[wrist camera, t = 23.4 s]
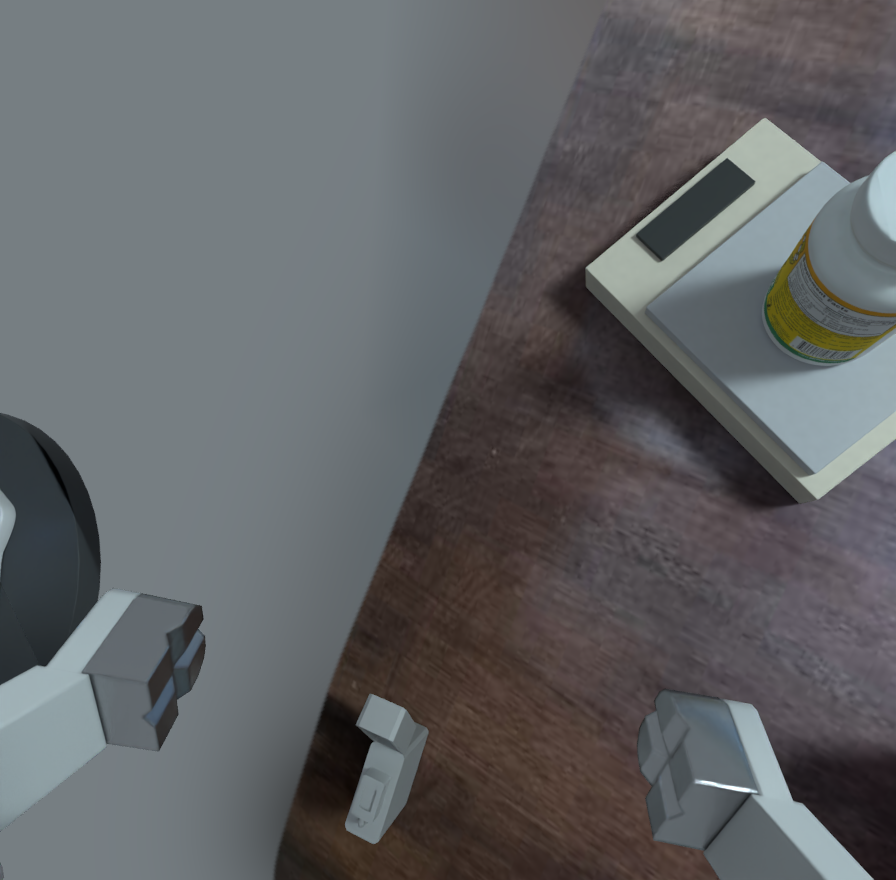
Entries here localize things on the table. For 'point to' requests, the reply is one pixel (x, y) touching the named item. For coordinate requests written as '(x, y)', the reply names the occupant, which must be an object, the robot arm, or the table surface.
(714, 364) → the kitchen scale
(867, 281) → the supplement bottle
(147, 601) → the robot arm
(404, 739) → the lighter
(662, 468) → the table surface
